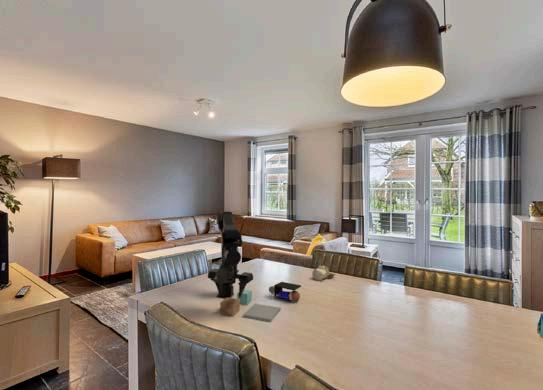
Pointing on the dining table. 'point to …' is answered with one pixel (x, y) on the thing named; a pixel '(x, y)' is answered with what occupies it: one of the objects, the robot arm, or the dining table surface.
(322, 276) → the ceramic sculpture
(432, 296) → the dining table surface
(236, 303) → the walnut block
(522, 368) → the dining table surface
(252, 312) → the base plate
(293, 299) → the figurine character
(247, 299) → the teal block
